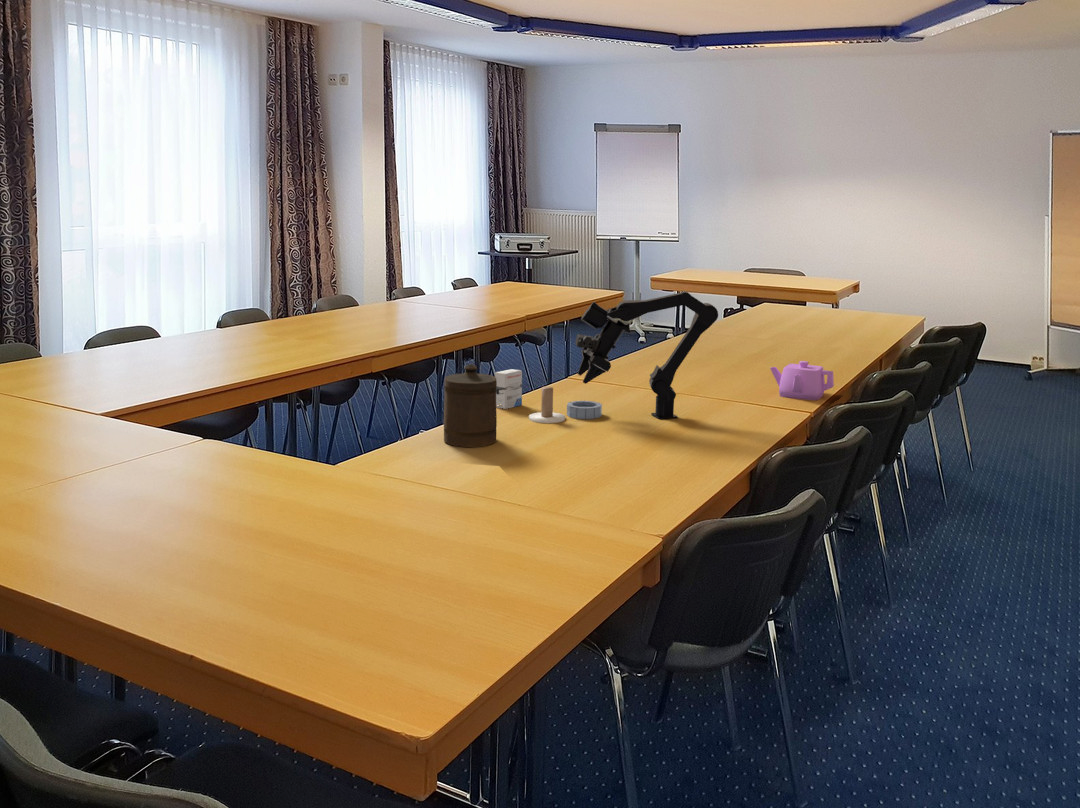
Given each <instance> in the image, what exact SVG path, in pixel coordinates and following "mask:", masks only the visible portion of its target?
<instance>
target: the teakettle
mask: <svg viewBox="0 0 1080 808" xmlns="http://www.w3.org/2000/svg"><path fill="white" fill-rule="evenodd" d="M809 363H810V362H809V361H807V360H800V361H799V362H798V363H788V364H787V365H785V366H784V367H783V369H782V372H780V370H779V369H778V368H777V367H776V366H771V367H770V368H769V369H770V371H771V373H772V375H773V377H774V379H775V381H776V383H777V386H778V387H779V389H778V392H779V397H782V398H788V399H795V400H805V401H806V400H807V401H818V400H819V399H821V398H822V397H823V396H824V393H825V391H827V390H830V389H832V388H834V387H835V386H834V385H835V384H834V370H825V369H824V367H823V366H820V365H812V364H809ZM825 375H826V376H827V377H826V380H825ZM825 381H826V382H825Z"/></svg>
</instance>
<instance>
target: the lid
mask: <svg viewBox="0 0 1080 808" xmlns="http://www.w3.org/2000/svg"><path fill="white" fill-rule="evenodd" d="M553 405H554V387H552V386H542V387H541V412H533V413H530V414H529V415H528V420H529V421H531V422H533V423H538V424H557V423H561V422H562V423H563V422H565V421H566V415H565V414H563V413H558V412H554V411H553V410H554V406H553Z"/></svg>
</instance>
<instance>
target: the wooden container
mask: <svg viewBox="0 0 1080 808" xmlns="http://www.w3.org/2000/svg"><path fill="white" fill-rule="evenodd" d="M477 370H478V368H477V366H476V365H475V364H473V363H469V364H468V363H467V364H466V365H464V372H463V373H453V374H449V375H447V376H444V383H443V385H444V391H443V397H444V398H443V442H444V443H446V444H447V445H450V446H452V447H453V446H454V447H459V448H480V447H487V446H490V445H493V444H494V443H496V442H497V424H498V423H497V422H498V421H497V416H498V415H497V407H496V387H497V380H496V377H495V375H491V374H486V373H477Z"/></svg>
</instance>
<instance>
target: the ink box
mask: <svg viewBox="0 0 1080 808" xmlns="http://www.w3.org/2000/svg"><path fill="white" fill-rule="evenodd" d="M494 377H496V380H497V387H496V409H497V408H498V409H502V408H503V410H508V408H509V409H512V408H516V407H520V406H522V405H523V371H522V370H521V369H513V368H511V369H506V370H501V371H495V372H494ZM500 404H501V405H500ZM497 405H499V406H497Z"/></svg>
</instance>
